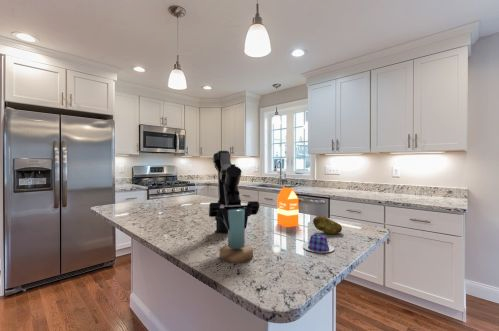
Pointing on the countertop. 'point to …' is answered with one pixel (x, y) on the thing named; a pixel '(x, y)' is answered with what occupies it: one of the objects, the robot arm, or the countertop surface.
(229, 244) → the teal tapered cylinder
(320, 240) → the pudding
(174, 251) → the countertop surface
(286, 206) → the orange juice
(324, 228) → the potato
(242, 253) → the base plate
